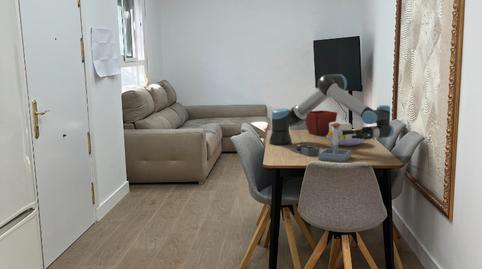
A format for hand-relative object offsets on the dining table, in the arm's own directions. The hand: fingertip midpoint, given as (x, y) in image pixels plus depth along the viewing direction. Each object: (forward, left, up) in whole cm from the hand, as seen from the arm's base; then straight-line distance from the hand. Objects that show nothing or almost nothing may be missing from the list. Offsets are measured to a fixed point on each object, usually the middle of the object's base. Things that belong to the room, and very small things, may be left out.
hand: (339, 135), depth 274 cm
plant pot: (-38, +85, -13) cm, 94 cm away
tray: (-2, -1, -13) cm, 14 cm away
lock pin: (-2, -1, -12) cm, 13 cm away
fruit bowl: (-8, +46, -14) cm, 48 cm away
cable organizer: (-18, +69, -14) cm, 72 cm away
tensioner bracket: (-24, +8, -13) cm, 28 cm away
